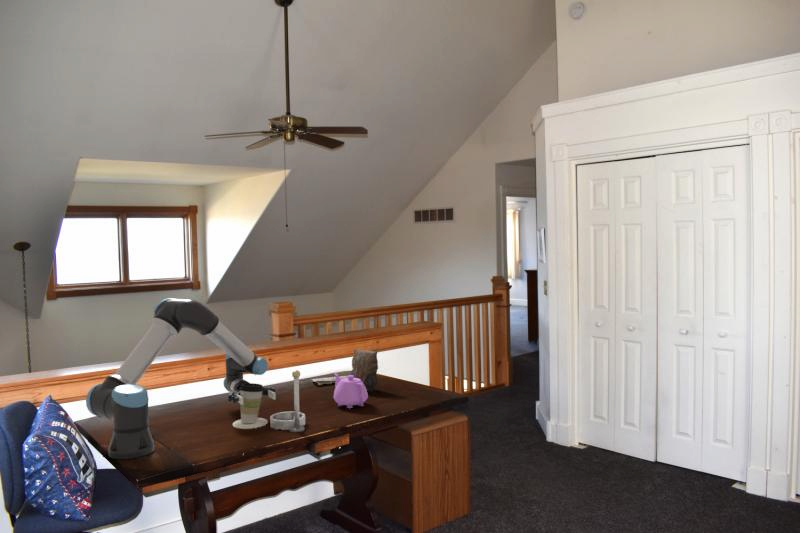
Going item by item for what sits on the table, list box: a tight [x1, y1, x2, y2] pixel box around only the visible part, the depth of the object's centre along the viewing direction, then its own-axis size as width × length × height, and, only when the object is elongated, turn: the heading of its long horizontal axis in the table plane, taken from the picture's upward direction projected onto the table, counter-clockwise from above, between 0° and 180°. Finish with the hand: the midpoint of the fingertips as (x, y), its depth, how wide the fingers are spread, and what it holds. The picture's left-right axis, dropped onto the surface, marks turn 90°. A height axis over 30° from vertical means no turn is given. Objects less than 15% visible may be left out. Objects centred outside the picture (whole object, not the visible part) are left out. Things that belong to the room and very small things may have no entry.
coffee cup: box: [239, 382, 264, 423], centre depth 254 cm, size 10×10×15 cm
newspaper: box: [310, 375, 348, 386], centre depth 332 cm, size 35×12×4 cm, turn 119°
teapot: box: [333, 372, 369, 410], centre depth 282 cm, size 22×16×14 cm
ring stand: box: [269, 369, 306, 434], centre depth 249 cm, size 19×14×24 cm
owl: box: [350, 349, 379, 392], centre depth 311 cm, size 13×13×20 cm
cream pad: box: [232, 417, 269, 430], centre depth 254 cm, size 14×14×1 cm
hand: (258, 398), depth 251 cm, fingers open, 13 cm apart
